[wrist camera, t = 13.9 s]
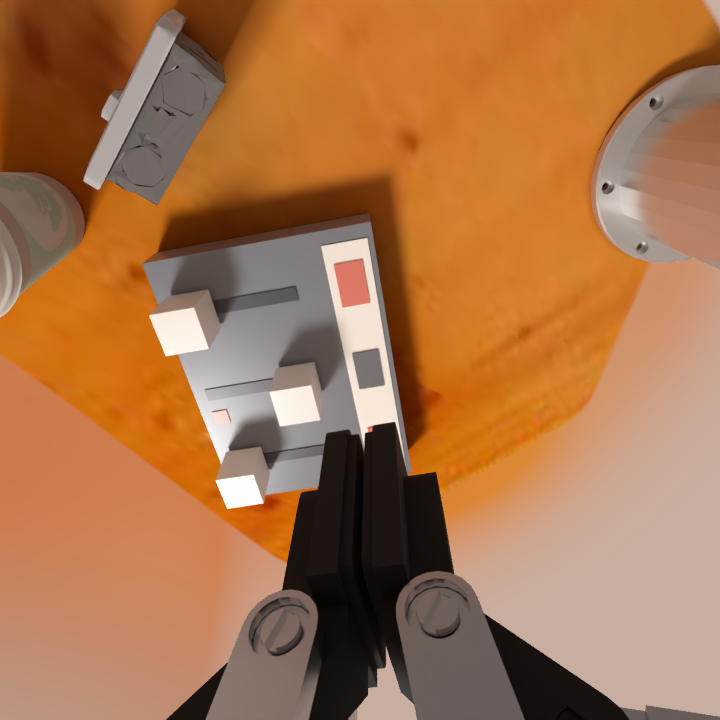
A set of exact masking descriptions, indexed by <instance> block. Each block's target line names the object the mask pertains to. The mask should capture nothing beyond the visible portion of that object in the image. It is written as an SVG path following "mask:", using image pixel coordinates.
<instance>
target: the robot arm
mask: <svg viewBox="0 0 720 720" xmlns="http://www.w3.org/2000/svg"><path fill="white" fill-rule="evenodd" d="M651 99H652V104H651V106H650V105H649V104H650V101H651ZM604 183H605V187H604V188H603V189H602V186H603V184H604ZM591 202H592V210H593V213H594V216H595V219H596V222H597V224H598V226H599V228H600V230H601V231H602V233H603V235H604V236H605V237H606V238H607V239H608V240H609V241H610V242H611V243H612V244H613V245H614V246H615V247H617V248H618V249H620V250H621V251H623V252H625V253H626V254H628V255H630V256H632V257H634V258H637V259H640V260H645V261H650V262H675V261H680V260H686V259H689V258H692V257H693V258H695V259H697V260H700V261H702V262H704V263H707V264H709V265H711V266H714V267H716V268H718V269H720V65H712V66H702V67H697V68H692V69H687V70H684V71H681V72H679V73H676V74H674V75H671V76H669V77H666V78H665V79H663V80H661V81H660V82H658V83H657V84H655V85H653V86H652V87H650V88H648V89H647V90H646V91H645V92H644V93H642V94H641V95H640V96H639V97H638V98H637V99H635V100H634V101H633V102H632V103H631V104H630V105H629V106H628V107H627V108H626V110H625V111H624V112H623V113H622V114H621V115H620V116H619V118H618V119H617V120H616V122H615V123H614V125H613V126H612V128H611V129H610V131H609V133H608V134H607V136H606V137H605V139H604V142H603V144H602V146H601V148H600V151H599V153H598V155H597V158H596V162H595V166H594V169H593V173H592V181H591ZM637 246H638V247H637ZM386 647H387V650H388V654H389V657H390V660H391V663H392V666H393V668H394V671H395V674H396V677H397V681H398V684H399V687H400V690H401V692H402V693H403V694H404V695H405V696H406V697H407V698H408V699H409V700H410V701H411V702H412V703H413V704H414V706H415V710H416V716H417V720H720V717H718V716H711V715H705V714H698V713H692V712H686V711H679V710H673V709H666V708H660V707H654V706H647V705H646V708H645V711H640V710H634V709H628V708H621V707H618V706H617V705H616V704H615V703H614V702H613V701H611V700H610V699H609V698H608V697H607V696H605V695H604V694H602V693H601V692H599V691H598V690H596V689H595V688H593V687H592V686H590V685H589V684H587V683H586V682H584V681H583V680H581V679H580V678H578V677H577V676H575V675H574V674H573V673H571V672H569V671H568V670H567V669H565V668H564V667H562V666H560V665H559V664H558V663H556V662H555V661H553V660H552V659H550V658H549V657H547V656H546V655H544V654H543V653H541V652H540V651H539V650H537V649H535V648H534V647H533V646H531V645H530V644H528V643H527V642H525V641H524V640H522V639H521V638H519V637H518V636H516V635H515V634H514V633H512V632H510V631H509V630H507V629H506V628H505V627H503V626H502V625H500V624H499V623H497V622H496V621H494V620H493V619H491V618H490V617H488V616H487V615H485V614H484V613H483V610H482V608H481V605H480V602H479V600H478V597H477V596H476V594H475V592H474V590H473V589H472V587H471V586H470V585H469V584H468V583H467V582H466V581H465V580H463V579H462V578H461V577H458V576H456V575H454V570H453V564H452V558H451V552H450V546H449V540H448V535H447V529H446V523H445V518H444V512H443V507H442V501H441V496H440V490H439V485H438V480H437V475H436V472H433V473H426V474H420V475H413V476H408V475H407V470H406V466H405V461H404V457H403V452H402V448H401V444H400V439H399V435H398V430H397V426H396V423H395V422H390V423H384V424H378V425H373V427H372V432H367V433H365V441H364V450H363V446H362V442H361V439H360V436H359V434H354V435H352V434H351V432H350V430H349V429H348V430H342V431H336V432H330V433H327V434H326V437H325V444H324V451H323V458H322V465H321V472H320V479H319V486H318V490H313V491H307V492H302V494H301V495H300V498H299V503H298V508H297V513H296V519H295V524H294V529H293V535H292V540H291V545H290V551H289V556H288V561H287V567H286V573H285V577H284V583H283V589H282V591H278V592H276V593H274V594H271V595H269V596H267V597H266V598H265V599H263V600H262V601H260V602H259V603H258V604H257V605H256V606H255V607H254V608H253V609H252V610H251V612H250V613H249V614H248V616H247V618H246V620H245V621H244V624H243V626H242V628H241V631H240V633H239V636H238V638H237V641H236V643H235V646H234V649H233V651H232V654H231V656H230V659H229V661H228V663H226V664H225V665H224V666H223V667H222V668H221V669H220V670H219V671H218V672H217V673H216V674H215V675H214V676H212V677H211V678H210V679H209V680H208V681H207V682H206V683H205V684H204V685H203V686H202V687H201V688H200V689H199V690H197V691H196V692H195V693H194V694H193V695H192V696H191V697H190V698H189V699H188V700H187V701H186V702H185V703H183V704H182V705H181V706H180V707H179V708H178V709H177V710H176V711H175V712H174V713H173V714H172V715H171V716H169V718H167V719H166V720H357V708H358V706H359V705H360V704H361V703H362V702H363V700H364V699H365V698H366V697H367V696H368V688H370V687H377V669H378V668H385V667H386Z"/></svg>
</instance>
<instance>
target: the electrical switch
mask: <svg viewBox="0 0 720 720" xmlns="http://www.w3.org/2000/svg"><path fill="white" fill-rule="evenodd" d="M186 20H187V18H186V17H184V16H183V15H182V14H180V13H179V12H177V11H176V10H175V9H171V10H170V11H168V12H166V13H164V14H163V15H162V17H161V18H160V19H159V21H158V22H157V23H156V25H155V27H154V29H153V31H152V33H151V35H150V37H149V39H148V41H147V43H146V45H145V47H144V49H143V51H142V54H141V56H140V58H139V59H138V62H137V64H136V66H135V68H134V70H133V72H132V74H131V76H130V78H129V80H128V83H127V85H126V87H125V89H120V90H114V91H113V92H112V93H111V94H110V96H109V98H108V100H107V102H106V104H105V106H104V107H103V109H102V114H101V117H102V118H104V119H105V120H107V121H108V124H107V126H106V128H105V130H104V132H103V134H102V136H101V139H100V141H99V143H98V145H97V147H96V149H95V151H94V153H93V155H92V157H91V159H90V161H89V164H88V167H87V170H86V173H85V176H84V179H83V181H84V182H86V183H87V184H89V185H90V186H92V187H94V188H95V189H97V190H98V189H100V188H101V186H102V184H103V182H104V180H105V179H106V180H109V181H111V182H113V183H115V184H117V185H119V186H120V187H122V188H123V189H125V190H127V191H130V192H134V193H137V194H138V195H140V196H142V197H144V198H145V199H147V200H149V201H151V202H152V203H154V204H156V205H158V203H159V202H160V200H161V198H162V196H163V195H164V193H165V191H166V189H167V187H168V186H169V184H170V182H171V180H172V179H173V177H174V175H175V173H176V171H177V170H178V168H179V166H180V164H181V163H182V161H183V159H184V157H185V155H186V154H187V152H188V150H189V148H190V147H191V145H192V143H193V141H194V139H195V138H196V136H197V134H198V132H199V131H200V129H201V127H202V125H203V123H204V122H205V120H206V118H207V116H208V115H209V113H210V111H211V109H212V107H213V106H214V104H215V102H216V100H217V99H218V97H219V95H220V93H221V91H222V90H223V88H224V86H225V84H224V83H223V82H225V83H226V81H225V76H224V71H223V66H222V65H221V64H220V63H219V62H218V61H216V60H215V59H214V58H213V57H212V56H210V55H209V54H208V53H207V52H206V51H205V48H204V47H202V46H200V45H198V44H197V43H196V42H194V41H193V40H192V39H190V38H189V37H188V36H187V35H186V34H184V33H183V32H182V31H181V30H182V28H183V26H184V24H185V22H186ZM215 76H216V77H218V78H219V79H221V80H222V81H223V82H221V81H220V80H219V79H218V78H216V77H215ZM206 96H207V97H206ZM164 177H165V179H163V178H164Z"/></svg>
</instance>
